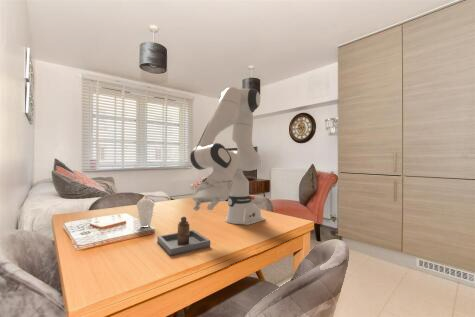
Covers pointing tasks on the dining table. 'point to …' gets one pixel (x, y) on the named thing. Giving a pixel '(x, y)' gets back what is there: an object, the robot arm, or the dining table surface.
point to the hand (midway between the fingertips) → (202, 209)
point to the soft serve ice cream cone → (145, 210)
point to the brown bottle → (183, 232)
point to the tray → (173, 248)
